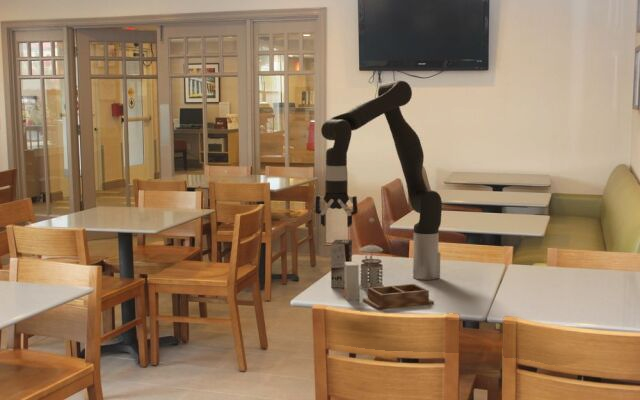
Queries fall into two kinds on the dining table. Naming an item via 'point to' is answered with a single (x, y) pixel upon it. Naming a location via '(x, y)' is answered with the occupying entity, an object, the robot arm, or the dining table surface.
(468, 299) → the dining table surface
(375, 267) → the french press
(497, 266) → the dining table surface
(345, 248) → the coffee box
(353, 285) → the skincare box
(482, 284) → the dining table surface
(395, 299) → the wooden compartment tray
